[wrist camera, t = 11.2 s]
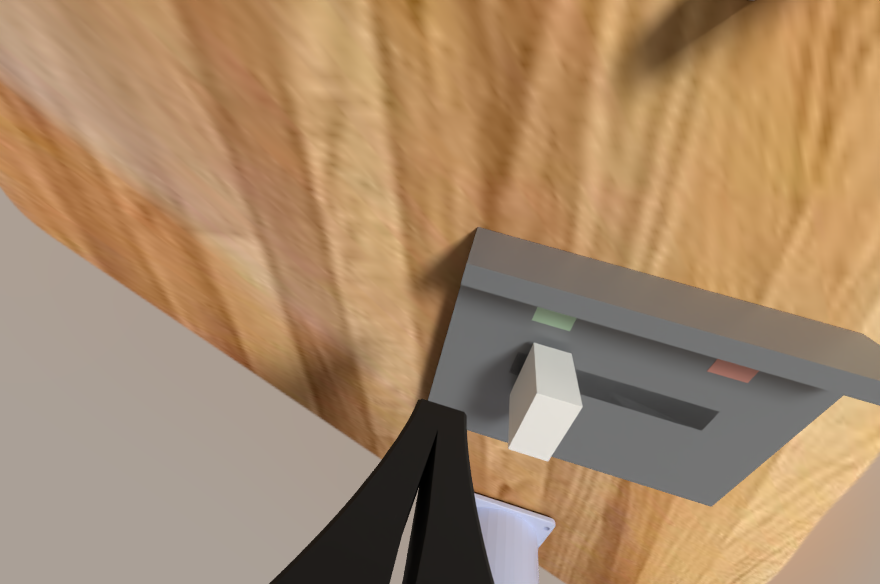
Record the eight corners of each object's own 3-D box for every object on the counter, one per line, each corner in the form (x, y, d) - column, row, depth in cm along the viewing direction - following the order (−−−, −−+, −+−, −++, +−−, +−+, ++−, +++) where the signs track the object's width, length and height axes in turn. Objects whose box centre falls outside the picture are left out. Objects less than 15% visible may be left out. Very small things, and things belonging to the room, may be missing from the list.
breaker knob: (543, 405, 20) (548, 461, 17) (509, 394, 20) (508, 448, 17) (571, 353, 18) (582, 406, 15) (533, 342, 18) (536, 393, 15)
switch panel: (700, 483, 23) (737, 560, 19) (428, 399, 24) (411, 456, 20) (863, 334, 17) (968, 406, 13) (477, 226, 18) (466, 263, 14)
